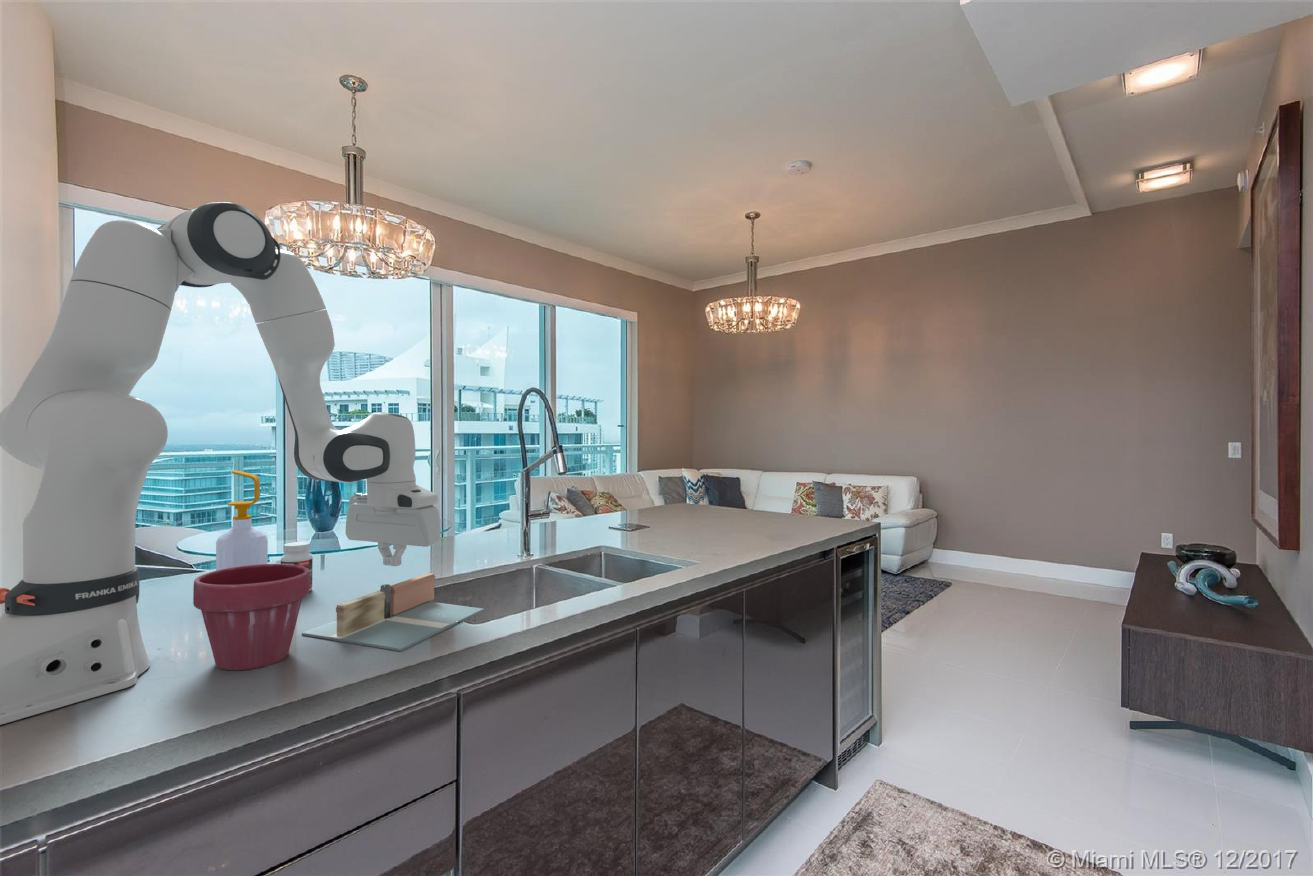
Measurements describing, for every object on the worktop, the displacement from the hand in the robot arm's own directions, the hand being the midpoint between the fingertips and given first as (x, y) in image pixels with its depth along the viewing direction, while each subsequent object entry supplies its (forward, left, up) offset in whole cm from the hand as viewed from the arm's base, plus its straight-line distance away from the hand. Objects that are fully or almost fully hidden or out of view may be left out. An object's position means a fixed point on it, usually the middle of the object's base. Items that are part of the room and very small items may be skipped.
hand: (392, 565), depth 120 cm
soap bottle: (-3, +37, -7) cm, 38 cm away
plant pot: (-31, -2, -7) cm, 32 cm away
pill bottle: (-2, +23, -7) cm, 24 cm away
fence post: (-10, -7, -7) cm, 14 cm away
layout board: (-10, -10, -7) cm, 16 cm away
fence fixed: (-15, -7, -7) cm, 18 cm away
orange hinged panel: (-3, -7, -7) cm, 10 cm away
